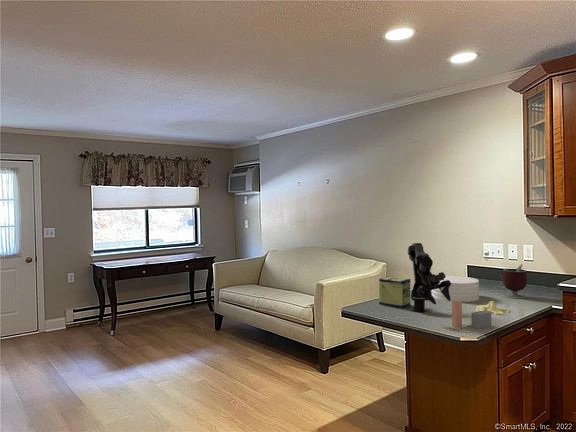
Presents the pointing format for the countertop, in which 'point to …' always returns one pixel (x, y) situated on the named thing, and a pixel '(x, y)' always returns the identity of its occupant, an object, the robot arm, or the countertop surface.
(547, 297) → the countertop surface
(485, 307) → the cloth
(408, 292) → the protein box
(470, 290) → the plate stack
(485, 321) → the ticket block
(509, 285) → the mate gourd
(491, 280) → the countertop surface
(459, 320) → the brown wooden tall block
